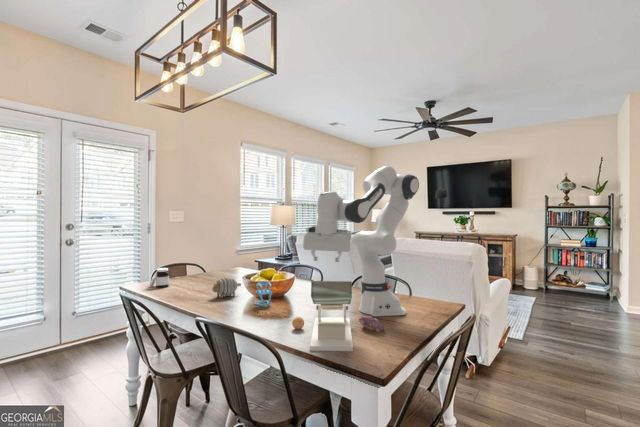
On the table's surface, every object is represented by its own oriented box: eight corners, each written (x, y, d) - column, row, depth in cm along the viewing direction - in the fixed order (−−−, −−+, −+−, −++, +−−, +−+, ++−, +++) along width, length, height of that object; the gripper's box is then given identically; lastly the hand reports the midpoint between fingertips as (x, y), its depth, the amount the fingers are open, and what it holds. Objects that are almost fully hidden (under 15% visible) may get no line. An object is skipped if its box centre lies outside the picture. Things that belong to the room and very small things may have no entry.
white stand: (315, 320, 147) (315, 301, 147) (349, 321, 147) (349, 301, 147) (309, 350, 115) (309, 326, 115) (352, 351, 115) (352, 326, 115)
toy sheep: (208, 297, 188) (208, 277, 188) (235, 292, 200) (235, 274, 200) (217, 301, 181) (217, 280, 180) (244, 295, 192) (244, 276, 192)
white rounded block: (169, 287, 214) (169, 269, 214) (150, 289, 208) (150, 270, 208) (167, 283, 224) (167, 266, 224) (149, 285, 219) (149, 268, 219)
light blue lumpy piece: (260, 308, 167) (260, 284, 167) (253, 304, 174) (253, 281, 174) (274, 305, 172) (274, 282, 171) (267, 302, 178) (267, 279, 178)
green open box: (315, 310, 145) (315, 296, 147) (349, 310, 144) (348, 297, 146) (310, 297, 118) (311, 281, 120) (351, 297, 117) (351, 281, 120)
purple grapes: (360, 330, 139) (355, 317, 137) (366, 323, 142) (362, 310, 140) (380, 336, 132) (375, 322, 130) (385, 329, 135) (381, 315, 133)
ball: (304, 327, 139) (304, 315, 139) (303, 331, 134) (303, 319, 134) (293, 326, 139) (293, 315, 139) (291, 331, 134) (291, 318, 134)
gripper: (352, 229, 142) (351, 261, 142) (306, 228, 147) (305, 259, 146) (350, 230, 136) (349, 263, 136) (302, 228, 140) (301, 261, 140)
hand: (326, 261), depth 141 cm, fingers open, 8 cm apart
